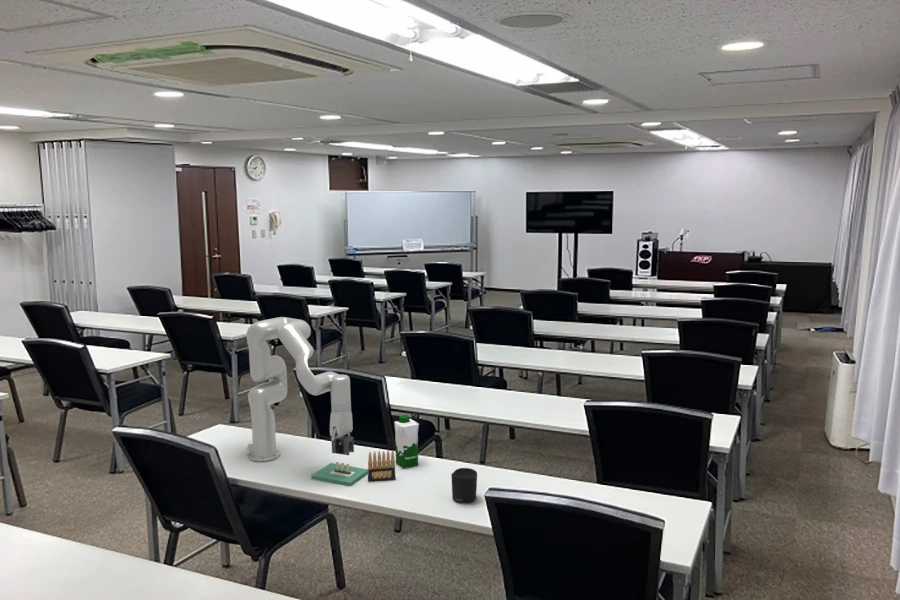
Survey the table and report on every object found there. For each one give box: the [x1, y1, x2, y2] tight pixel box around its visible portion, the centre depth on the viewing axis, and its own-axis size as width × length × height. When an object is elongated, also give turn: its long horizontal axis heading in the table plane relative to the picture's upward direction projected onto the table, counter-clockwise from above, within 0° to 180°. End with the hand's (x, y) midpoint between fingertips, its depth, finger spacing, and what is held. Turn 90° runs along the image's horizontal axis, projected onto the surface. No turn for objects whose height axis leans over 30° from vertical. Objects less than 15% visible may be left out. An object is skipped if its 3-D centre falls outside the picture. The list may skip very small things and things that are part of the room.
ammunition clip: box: [367, 449, 397, 483], centre depth 262 cm, size 11×2×12 cm, turn 101°
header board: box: [310, 461, 368, 487], centre depth 267 cm, size 18×14×5 cm
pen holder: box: [450, 467, 478, 504], centre depth 246 cm, size 9×9×10 cm
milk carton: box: [394, 414, 420, 470], centre depth 277 cm, size 9×9×20 cm
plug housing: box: [331, 435, 355, 456], centre depth 264 cm, size 8×4×6 cm, turn 67°
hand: (342, 451), depth 265 cm, fingers closed on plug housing, 4 cm apart
